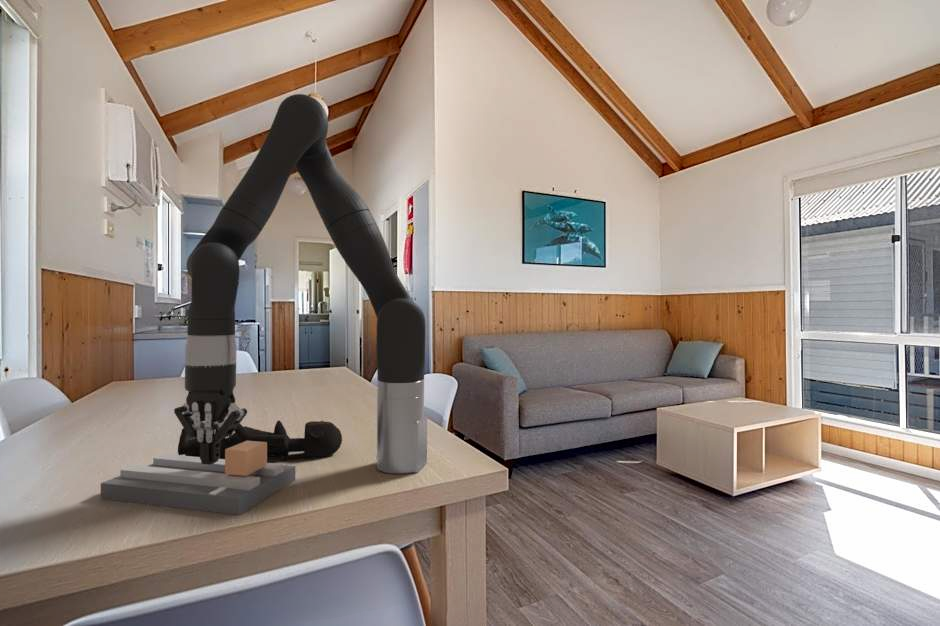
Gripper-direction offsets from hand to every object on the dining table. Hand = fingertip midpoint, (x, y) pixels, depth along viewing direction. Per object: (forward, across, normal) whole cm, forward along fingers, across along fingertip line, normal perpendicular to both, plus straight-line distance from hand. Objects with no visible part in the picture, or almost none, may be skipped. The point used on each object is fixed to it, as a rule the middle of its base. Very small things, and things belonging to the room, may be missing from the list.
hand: (209, 462), depth 74 cm
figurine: (+5, +1, -16) cm, 17 cm away
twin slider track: (+5, +2, 0) cm, 5 cm away
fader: (+2, -7, 0) cm, 7 cm away
